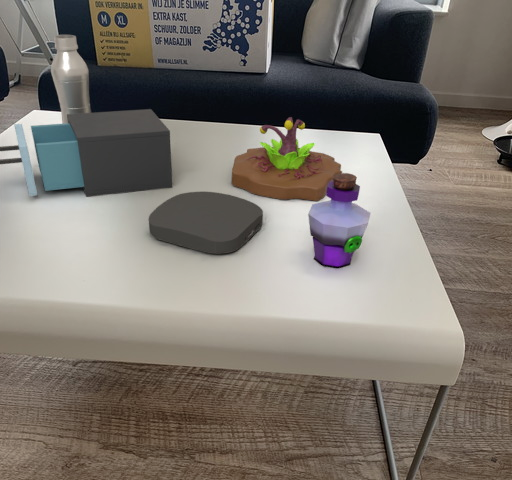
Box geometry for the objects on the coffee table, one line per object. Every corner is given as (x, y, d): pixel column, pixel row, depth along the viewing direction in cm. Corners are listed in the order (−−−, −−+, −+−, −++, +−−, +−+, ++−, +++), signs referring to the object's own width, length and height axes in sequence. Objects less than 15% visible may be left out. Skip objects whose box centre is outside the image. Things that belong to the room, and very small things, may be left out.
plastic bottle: (105, 149, 107) (90, 34, 95) (92, 161, 102) (75, 41, 89) (73, 146, 108) (55, 31, 95) (59, 158, 102) (37, 38, 90)
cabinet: (86, 196, 89) (77, 137, 83) (75, 169, 98) (66, 114, 92) (172, 187, 94) (169, 130, 88) (154, 162, 103) (151, 108, 97)
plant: (217, 191, 94) (217, 124, 87) (245, 154, 109) (247, 94, 102) (332, 207, 91) (342, 139, 84) (345, 167, 106) (354, 106, 99)
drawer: (-5, 199, 85) (-18, 149, 80) (-7, 173, 93) (-19, 126, 88) (115, 187, 91) (109, 139, 86) (102, 163, 99) (97, 118, 94)
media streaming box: (139, 237, 79) (137, 218, 77) (189, 201, 90) (188, 183, 88) (229, 261, 75) (229, 241, 73) (270, 220, 86) (271, 202, 84)
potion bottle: (344, 281, 72) (359, 195, 65) (290, 259, 76) (298, 176, 69) (373, 257, 78) (390, 175, 70) (322, 238, 82) (333, 159, 74)
